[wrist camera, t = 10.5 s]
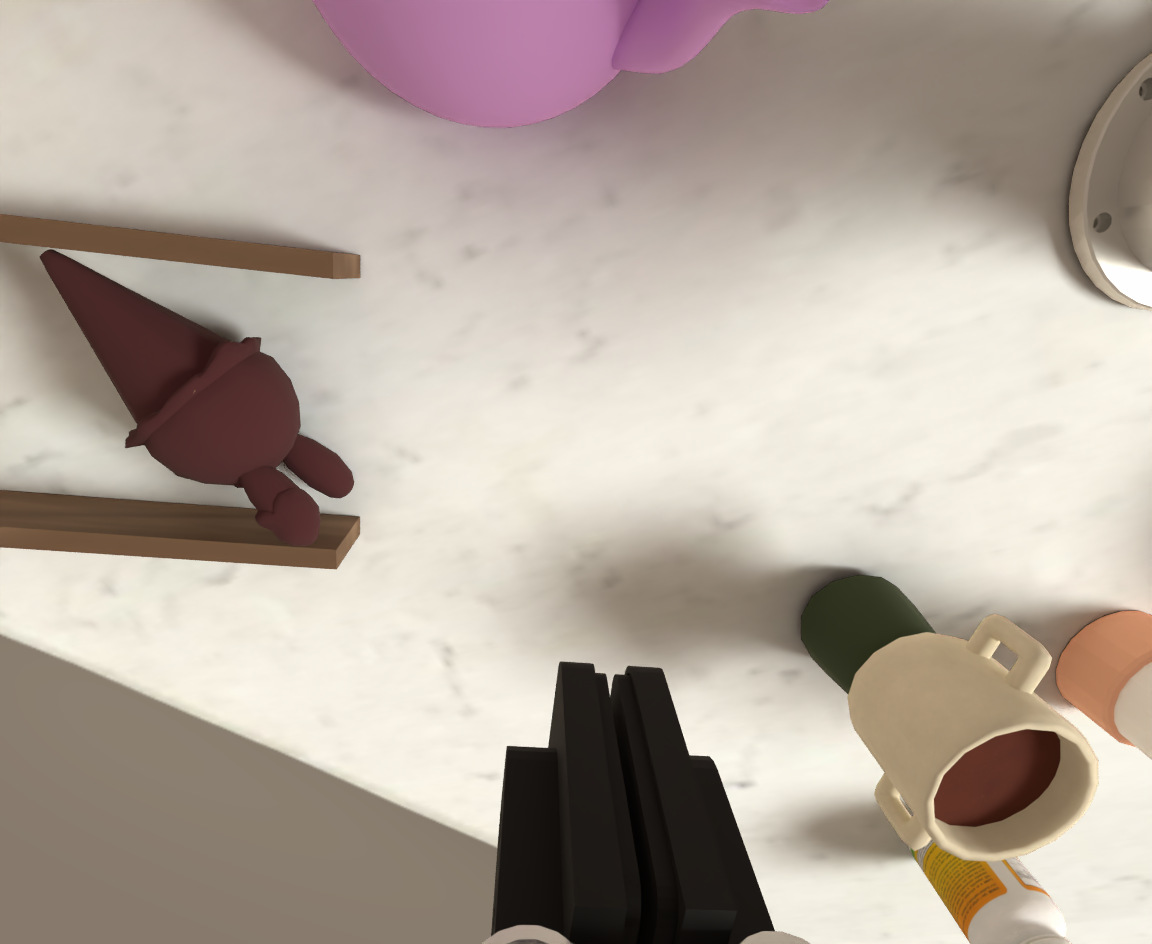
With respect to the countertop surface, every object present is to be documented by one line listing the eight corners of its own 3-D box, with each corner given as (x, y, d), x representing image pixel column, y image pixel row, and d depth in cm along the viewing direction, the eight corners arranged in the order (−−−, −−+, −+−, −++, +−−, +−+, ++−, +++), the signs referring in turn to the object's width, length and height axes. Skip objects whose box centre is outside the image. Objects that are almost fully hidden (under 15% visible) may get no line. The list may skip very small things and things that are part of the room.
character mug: (855, 704, 38) (1010, 912, 26) (754, 674, 37) (866, 878, 24) (945, 553, 35) (1170, 707, 23) (838, 516, 34) (1014, 656, 21)
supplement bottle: (901, 863, 42) (1003, 1027, 33) (906, 804, 41) (1016, 959, 32) (976, 853, 43) (1098, 1013, 33) (985, 793, 41) (1116, 944, 32)
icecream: (-86, 335, 22) (248, 598, 27) (6, 202, 19) (356, 523, 25) (68, 287, 28) (317, 510, 33) (155, 179, 25) (410, 443, 31)
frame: (-146, 197, 26) (-263, 184, 22) (360, 255, 28) (332, 252, 24) (-75, 503, 30) (-163, 536, 26) (359, 534, 32) (336, 569, 28)
